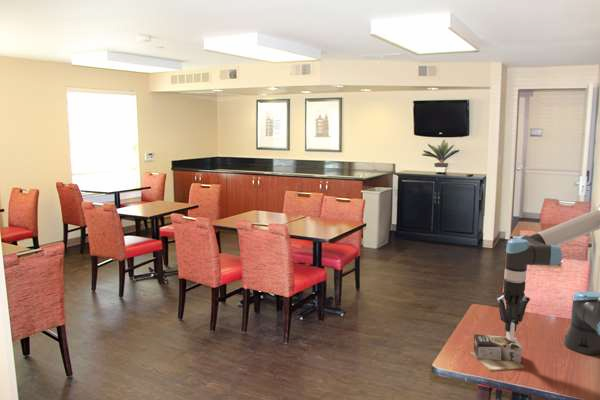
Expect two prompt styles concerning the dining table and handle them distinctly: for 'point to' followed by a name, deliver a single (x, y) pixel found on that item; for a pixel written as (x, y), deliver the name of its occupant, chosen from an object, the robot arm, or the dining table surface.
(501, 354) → the coffee box
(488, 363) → the beige board
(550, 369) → the dining table surface
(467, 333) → the dining table surface
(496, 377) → the dining table surface
